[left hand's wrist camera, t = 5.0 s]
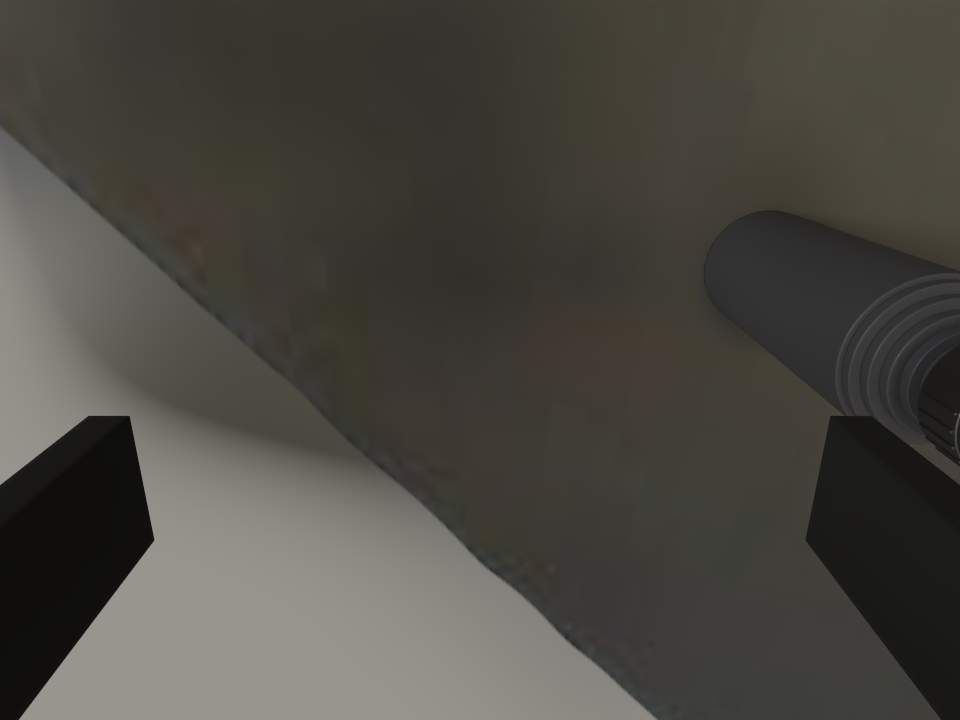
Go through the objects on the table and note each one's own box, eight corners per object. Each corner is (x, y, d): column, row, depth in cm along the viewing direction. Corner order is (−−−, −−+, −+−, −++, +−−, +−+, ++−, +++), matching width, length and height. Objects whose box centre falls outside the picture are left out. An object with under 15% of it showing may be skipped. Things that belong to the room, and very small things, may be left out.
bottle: (689, 311, 41) (879, 494, 21) (725, 199, 38) (976, 292, 19) (794, 332, 41) (1075, 531, 22) (837, 223, 39) (1193, 337, 20)
